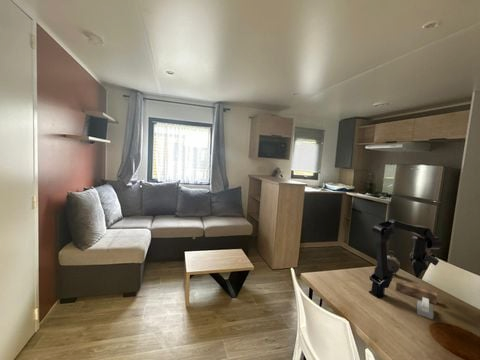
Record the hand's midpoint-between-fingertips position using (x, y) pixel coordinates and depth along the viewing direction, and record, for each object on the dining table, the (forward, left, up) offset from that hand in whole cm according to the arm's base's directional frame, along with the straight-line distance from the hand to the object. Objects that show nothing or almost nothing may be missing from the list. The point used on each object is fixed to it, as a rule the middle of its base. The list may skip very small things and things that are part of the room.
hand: (416, 274), depth 127 cm
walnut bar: (-1, -1, -12) cm, 12 cm away
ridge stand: (-12, -12, -12) cm, 21 cm away
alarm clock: (+10, +22, -12) cm, 27 cm away
